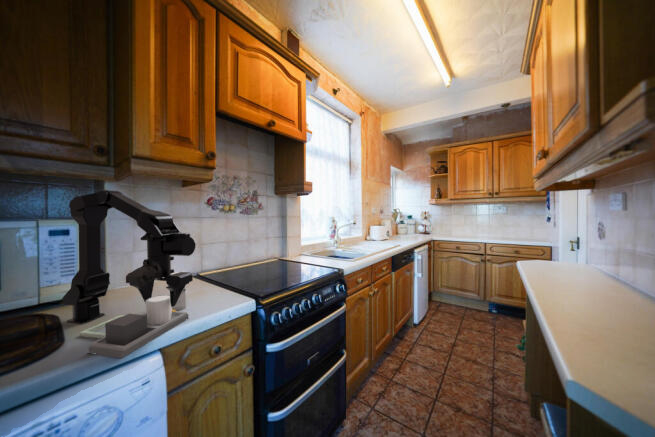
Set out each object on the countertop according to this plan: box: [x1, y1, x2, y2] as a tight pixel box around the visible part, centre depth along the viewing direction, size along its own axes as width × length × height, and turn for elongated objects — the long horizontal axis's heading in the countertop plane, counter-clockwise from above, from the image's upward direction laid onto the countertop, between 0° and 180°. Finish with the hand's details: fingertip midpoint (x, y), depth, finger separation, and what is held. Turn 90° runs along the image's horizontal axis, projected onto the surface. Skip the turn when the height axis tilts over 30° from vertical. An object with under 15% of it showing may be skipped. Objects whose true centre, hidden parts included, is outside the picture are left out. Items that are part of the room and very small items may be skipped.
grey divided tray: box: [87, 310, 189, 359], centre depth 68 cm, size 10×21×6 cm, turn 169°
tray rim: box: [79, 314, 125, 339], centre depth 71 cm, size 11×11×1 cm
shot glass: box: [145, 294, 172, 325], centre depth 72 cm, size 7×7×7 cm
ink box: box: [171, 270, 187, 311], centre depth 87 cm, size 9×5×12 cm, turn 31°
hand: (160, 305), depth 72 cm, fingers open, 9 cm apart
